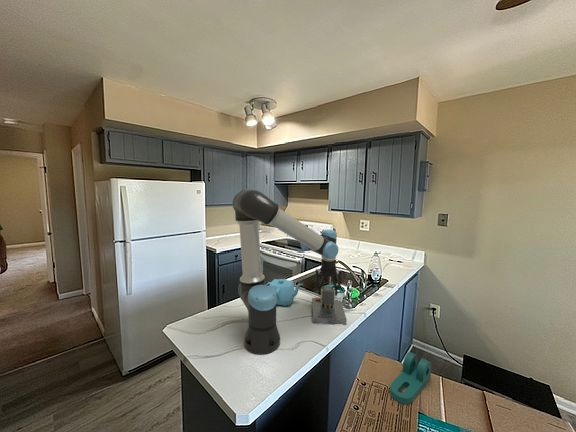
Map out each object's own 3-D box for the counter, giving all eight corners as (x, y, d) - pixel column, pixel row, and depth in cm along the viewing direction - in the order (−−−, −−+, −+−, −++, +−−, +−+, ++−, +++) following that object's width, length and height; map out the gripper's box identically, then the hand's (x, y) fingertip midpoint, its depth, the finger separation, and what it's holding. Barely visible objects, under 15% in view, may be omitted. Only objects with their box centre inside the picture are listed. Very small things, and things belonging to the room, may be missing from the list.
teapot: (273, 311, 132) (273, 287, 131) (262, 298, 147) (262, 277, 145) (303, 305, 140) (303, 282, 138) (290, 293, 155) (290, 272, 153)
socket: (346, 325, 120) (346, 317, 119) (313, 323, 121) (313, 316, 120) (340, 303, 142) (340, 297, 141) (311, 302, 143) (312, 296, 142)
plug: (333, 310, 130) (334, 291, 129) (322, 309, 131) (322, 290, 130) (332, 303, 137) (332, 285, 136) (321, 303, 138) (321, 285, 136)
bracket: (410, 368, 92) (411, 348, 91) (430, 379, 86) (432, 358, 86) (385, 394, 80) (387, 372, 79) (407, 409, 75) (408, 385, 74)
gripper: (345, 257, 134) (344, 298, 137) (310, 256, 135) (309, 297, 138) (348, 261, 127) (346, 304, 129) (310, 260, 128) (310, 303, 131)
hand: (327, 300), depth 134 cm, fingers closed on plug, 6 cm apart
